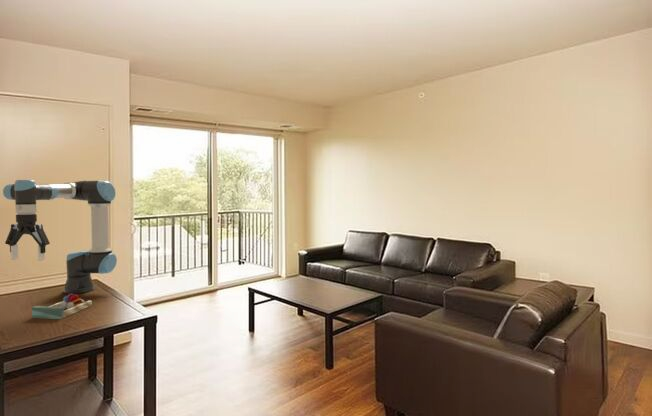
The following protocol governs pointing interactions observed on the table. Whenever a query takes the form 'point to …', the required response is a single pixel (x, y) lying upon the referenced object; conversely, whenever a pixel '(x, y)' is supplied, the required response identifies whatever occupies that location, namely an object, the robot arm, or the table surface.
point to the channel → (57, 310)
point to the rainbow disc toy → (71, 301)
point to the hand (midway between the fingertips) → (28, 260)
